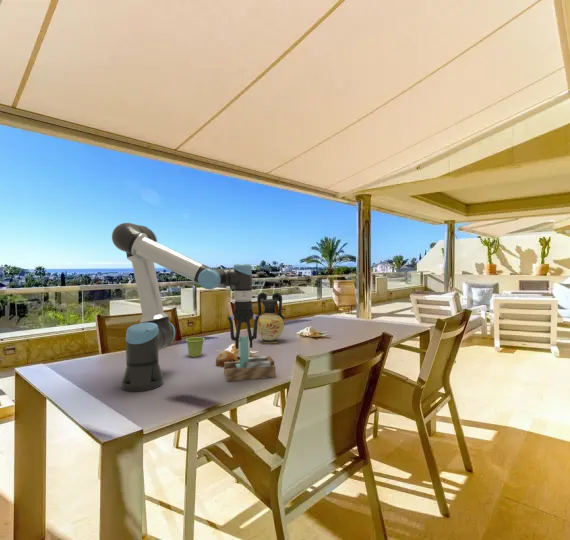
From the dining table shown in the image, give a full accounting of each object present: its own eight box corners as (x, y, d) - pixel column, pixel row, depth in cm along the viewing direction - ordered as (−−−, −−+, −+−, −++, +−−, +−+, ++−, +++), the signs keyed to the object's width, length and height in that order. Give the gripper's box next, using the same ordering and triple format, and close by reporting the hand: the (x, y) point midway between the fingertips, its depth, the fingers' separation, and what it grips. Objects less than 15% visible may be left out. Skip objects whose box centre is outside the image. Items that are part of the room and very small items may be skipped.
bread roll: (229, 368, 170) (223, 352, 171) (244, 362, 165) (238, 346, 166) (215, 374, 161) (209, 357, 163) (230, 367, 156) (224, 350, 158)
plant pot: (207, 353, 184) (207, 337, 184) (201, 358, 174) (200, 341, 174) (190, 353, 185) (189, 337, 185) (183, 358, 175) (182, 340, 175)
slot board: (226, 381, 139) (226, 366, 139) (224, 372, 151) (224, 358, 151) (275, 377, 144) (275, 362, 144) (269, 368, 156) (269, 355, 156)
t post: (237, 372, 143) (237, 339, 143) (235, 367, 149) (235, 336, 149) (252, 370, 144) (252, 338, 144) (250, 366, 151) (250, 335, 150)
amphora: (283, 338, 220) (283, 291, 220) (285, 344, 203) (285, 293, 203) (255, 339, 219) (255, 291, 219) (255, 345, 202) (254, 293, 202)
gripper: (224, 302, 141) (225, 359, 141) (263, 300, 145) (264, 356, 145) (223, 300, 148) (223, 355, 148) (260, 299, 152) (261, 352, 152)
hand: (244, 355), depth 147 cm, fingers closed on t post, 3 cm apart
